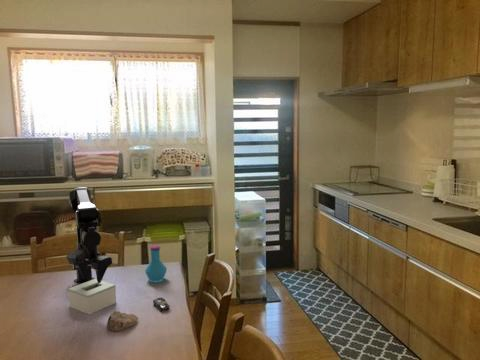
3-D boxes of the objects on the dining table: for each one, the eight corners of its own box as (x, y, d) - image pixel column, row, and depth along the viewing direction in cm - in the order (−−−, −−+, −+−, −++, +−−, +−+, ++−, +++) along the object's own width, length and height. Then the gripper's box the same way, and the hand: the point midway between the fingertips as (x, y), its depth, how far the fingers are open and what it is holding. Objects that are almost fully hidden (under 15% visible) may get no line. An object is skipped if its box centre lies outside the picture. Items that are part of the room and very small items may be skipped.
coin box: (69, 306, 149) (68, 288, 148) (96, 295, 159) (95, 278, 158) (89, 314, 143) (87, 295, 142) (116, 302, 153) (115, 284, 152)
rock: (107, 335, 129) (137, 325, 131) (102, 317, 129) (133, 308, 131) (110, 329, 137) (139, 320, 139) (106, 312, 138) (135, 303, 140)
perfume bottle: (169, 275, 179) (168, 243, 178) (163, 283, 170) (162, 249, 168) (149, 275, 180) (148, 243, 178) (142, 283, 171) (141, 249, 169)
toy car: (161, 313, 144) (160, 292, 143) (147, 302, 153) (146, 282, 152) (171, 310, 146) (170, 289, 145) (157, 299, 155) (156, 279, 154)
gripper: (54, 241, 146) (57, 282, 148) (85, 249, 136) (88, 293, 138) (81, 234, 155) (83, 273, 157) (112, 241, 145) (114, 282, 147)
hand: (91, 280), depth 150 cm, fingers open, 9 cm apart
